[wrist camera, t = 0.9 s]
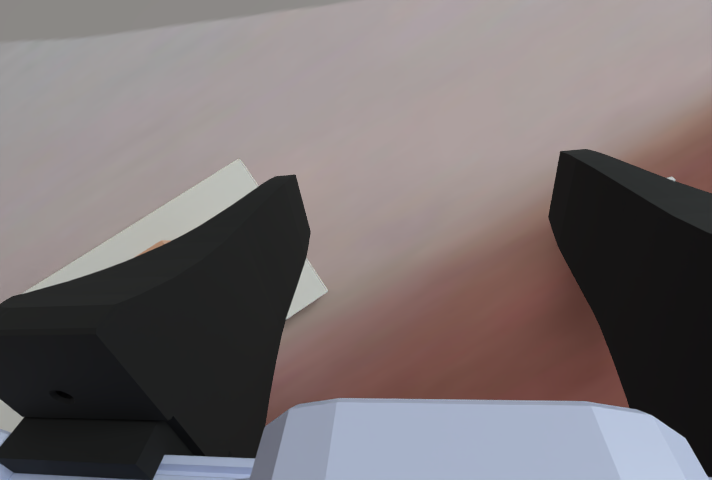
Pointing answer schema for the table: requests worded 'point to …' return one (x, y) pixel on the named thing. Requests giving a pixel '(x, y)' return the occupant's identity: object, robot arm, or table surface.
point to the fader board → (169, 226)
